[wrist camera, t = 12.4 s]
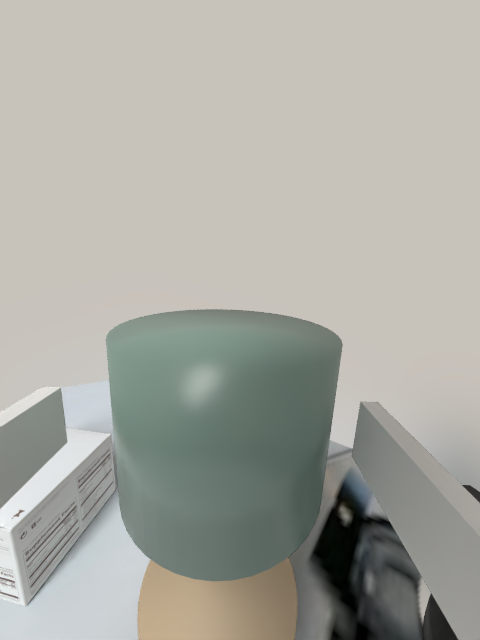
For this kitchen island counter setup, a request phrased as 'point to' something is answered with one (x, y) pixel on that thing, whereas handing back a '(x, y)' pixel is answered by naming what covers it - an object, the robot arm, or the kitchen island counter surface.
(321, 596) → the kitchen island counter surface
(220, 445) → the cap
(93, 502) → the supplement box
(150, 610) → the tan white-banded canister
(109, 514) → the kitchen island counter surface
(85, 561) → the kitchen island counter surface
